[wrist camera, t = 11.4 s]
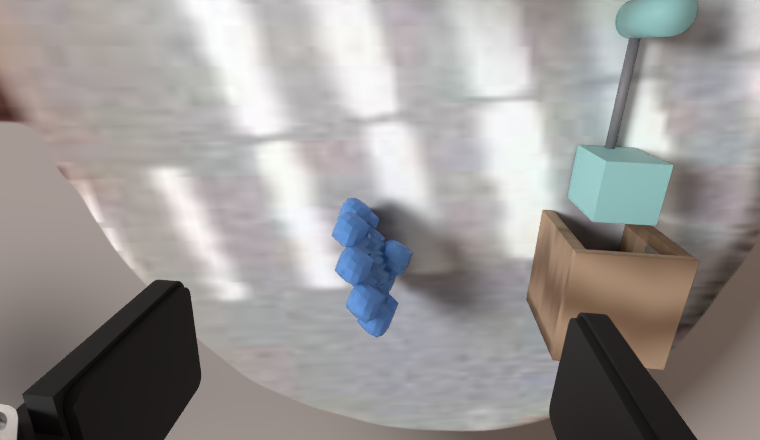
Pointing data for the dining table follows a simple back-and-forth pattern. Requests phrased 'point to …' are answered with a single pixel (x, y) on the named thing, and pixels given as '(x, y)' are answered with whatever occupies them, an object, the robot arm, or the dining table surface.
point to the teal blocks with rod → (619, 164)
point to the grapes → (368, 266)
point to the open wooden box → (611, 287)
